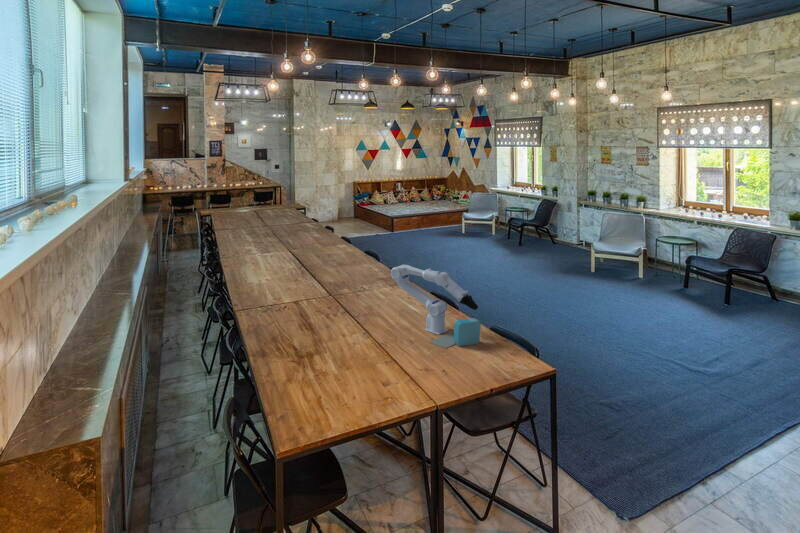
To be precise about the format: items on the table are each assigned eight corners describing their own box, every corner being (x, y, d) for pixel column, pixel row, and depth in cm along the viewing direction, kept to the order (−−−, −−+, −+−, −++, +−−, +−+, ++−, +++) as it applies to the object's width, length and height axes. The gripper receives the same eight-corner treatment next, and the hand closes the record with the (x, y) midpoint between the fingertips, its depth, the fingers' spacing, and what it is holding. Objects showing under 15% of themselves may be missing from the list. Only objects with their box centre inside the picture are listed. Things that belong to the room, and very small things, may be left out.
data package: (474, 340, 249) (476, 317, 246) (479, 343, 245) (481, 320, 242) (453, 342, 245) (454, 320, 242) (457, 346, 241) (459, 323, 238)
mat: (428, 342, 246) (428, 341, 246) (458, 330, 263) (458, 329, 263) (445, 348, 239) (445, 347, 239) (475, 335, 255) (475, 335, 255)
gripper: (457, 282, 244) (478, 301, 240) (463, 285, 257) (483, 302, 253) (448, 293, 244) (469, 312, 240) (454, 295, 258) (474, 313, 254)
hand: (475, 308), depth 247 cm, fingers open, 7 cm apart
